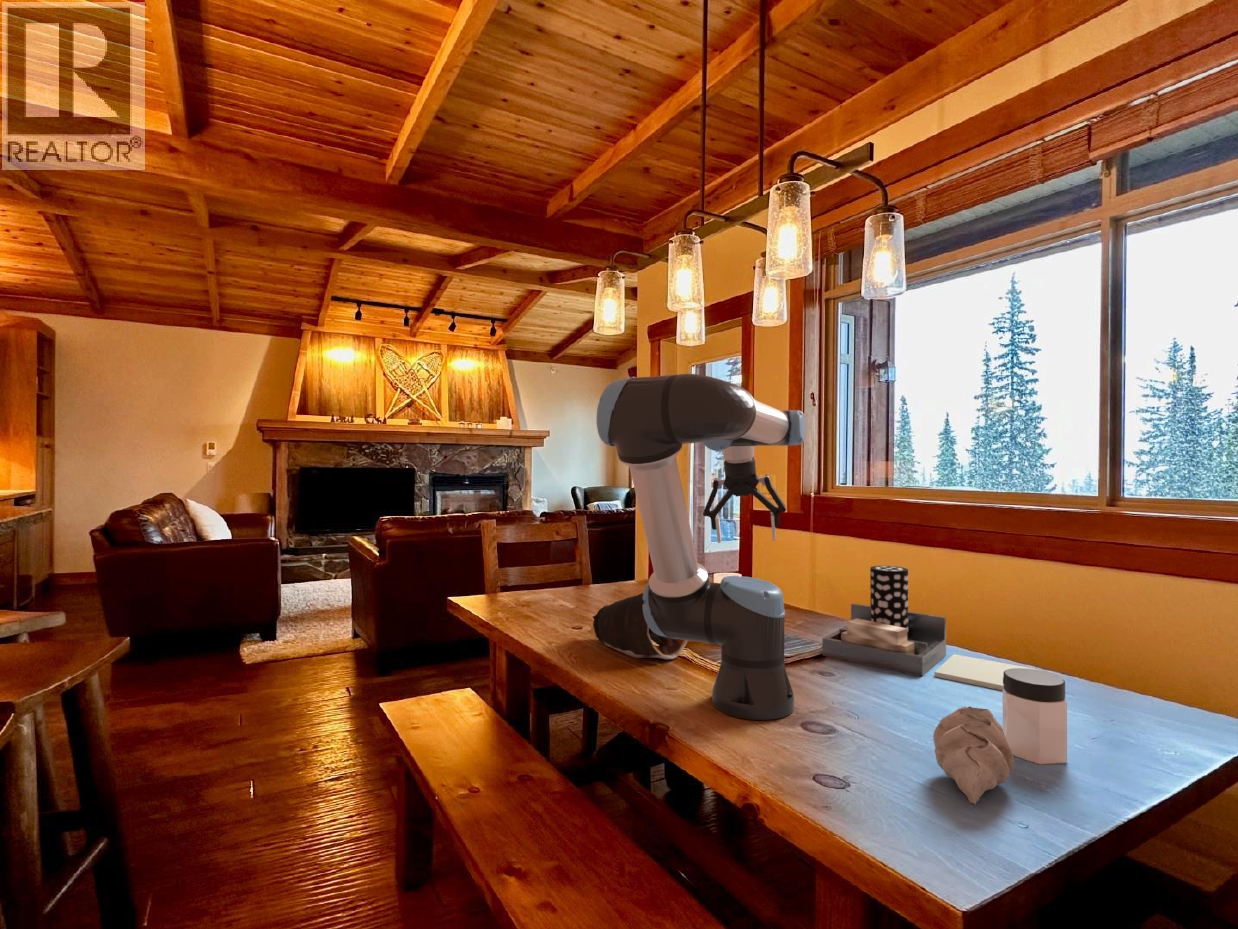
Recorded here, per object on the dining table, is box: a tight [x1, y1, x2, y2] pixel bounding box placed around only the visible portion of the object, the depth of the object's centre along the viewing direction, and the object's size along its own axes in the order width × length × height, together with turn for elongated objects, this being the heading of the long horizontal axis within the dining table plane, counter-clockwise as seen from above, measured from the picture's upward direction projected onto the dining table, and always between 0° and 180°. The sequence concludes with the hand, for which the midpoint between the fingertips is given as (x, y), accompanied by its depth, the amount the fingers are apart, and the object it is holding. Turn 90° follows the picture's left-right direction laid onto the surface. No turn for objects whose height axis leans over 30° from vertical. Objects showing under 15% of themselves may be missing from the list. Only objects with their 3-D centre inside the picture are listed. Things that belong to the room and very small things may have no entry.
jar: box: [1002, 668, 1068, 765], centre depth 98 cm, size 9×8×12 cm
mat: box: [934, 653, 1037, 692], centre depth 133 cm, size 16×16×1 cm
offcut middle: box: [841, 631, 914, 654], centre depth 143 cm, size 15×4×3 cm, turn 44°
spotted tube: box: [869, 565, 909, 639], centre depth 150 cm, size 8×8×20 cm
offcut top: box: [846, 618, 907, 646], centre depth 143 cm, size 12×4×3 cm, turn 40°
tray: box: [821, 602, 947, 677], centre depth 147 cm, size 22×19×9 cm
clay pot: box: [591, 592, 689, 660], centre depth 153 cm, size 15×15×25 cm
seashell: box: [932, 706, 1015, 805], centre depth 89 cm, size 10×15×10 cm
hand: (746, 539), depth 158 cm, fingers open, 13 cm apart
